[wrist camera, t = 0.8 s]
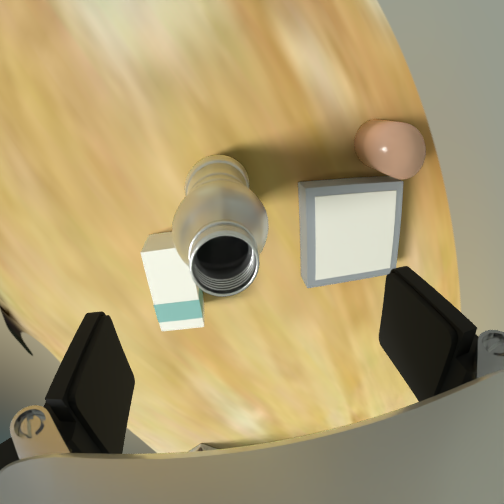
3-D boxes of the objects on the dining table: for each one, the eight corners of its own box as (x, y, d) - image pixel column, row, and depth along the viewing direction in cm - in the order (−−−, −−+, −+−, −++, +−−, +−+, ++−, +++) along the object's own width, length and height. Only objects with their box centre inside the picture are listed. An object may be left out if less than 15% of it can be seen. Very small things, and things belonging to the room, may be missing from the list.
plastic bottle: (258, 172, 35) (313, 245, 17) (223, 221, 37) (239, 336, 19) (209, 139, 33) (207, 175, 15) (174, 191, 34) (138, 284, 16)
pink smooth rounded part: (353, 118, 33) (378, 121, 28) (397, 119, 34) (426, 124, 28) (354, 169, 36) (378, 180, 30) (397, 167, 36) (424, 178, 31)
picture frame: (298, 182, 36) (305, 188, 33) (390, 175, 37) (404, 181, 34) (301, 276, 41) (307, 288, 38) (384, 262, 42) (395, 273, 39)
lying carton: (148, 234, 36) (140, 252, 32) (191, 228, 37) (189, 246, 32) (165, 307, 40) (161, 331, 36) (204, 302, 41) (204, 326, 36)
